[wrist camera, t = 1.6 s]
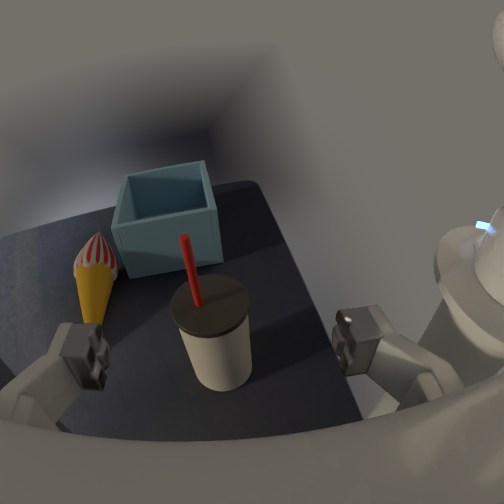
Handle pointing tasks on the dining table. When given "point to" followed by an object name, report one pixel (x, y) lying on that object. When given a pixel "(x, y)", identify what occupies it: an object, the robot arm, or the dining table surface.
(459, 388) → the robot arm
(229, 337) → the paper cup
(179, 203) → the bin
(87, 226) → the dining table surface
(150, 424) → the dining table surface
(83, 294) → the ice cream cone
